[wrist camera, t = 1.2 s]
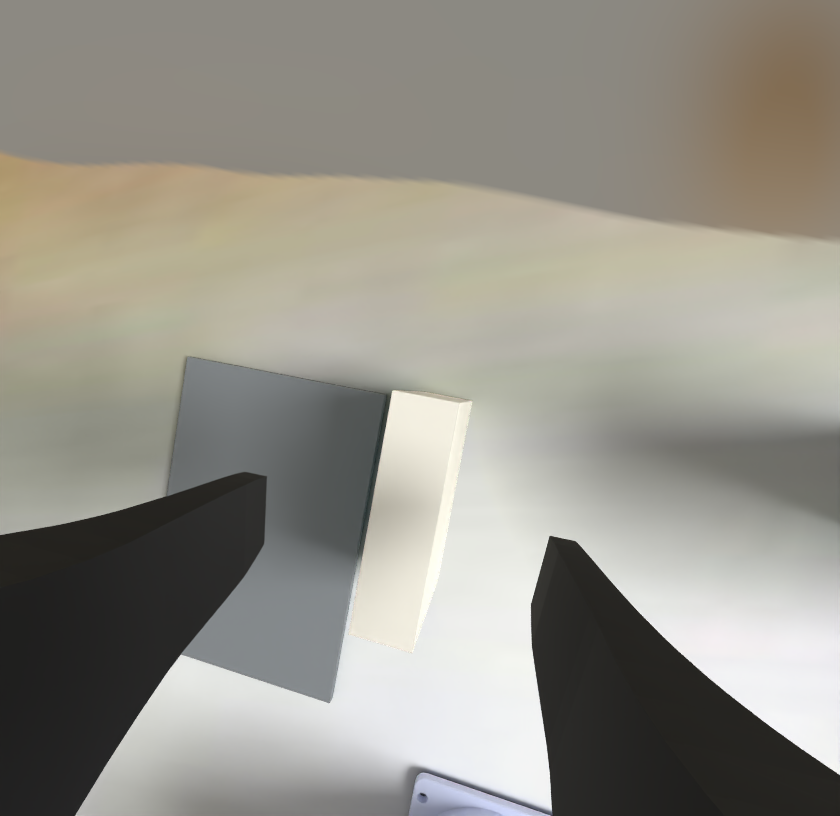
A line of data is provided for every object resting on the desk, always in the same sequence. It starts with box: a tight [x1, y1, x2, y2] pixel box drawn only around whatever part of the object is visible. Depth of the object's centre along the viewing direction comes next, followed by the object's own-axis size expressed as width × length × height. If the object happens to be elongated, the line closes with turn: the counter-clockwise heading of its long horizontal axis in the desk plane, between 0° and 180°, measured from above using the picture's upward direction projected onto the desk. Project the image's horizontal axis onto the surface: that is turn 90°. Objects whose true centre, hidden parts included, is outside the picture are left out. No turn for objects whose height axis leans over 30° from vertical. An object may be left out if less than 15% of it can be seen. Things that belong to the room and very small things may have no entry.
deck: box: [348, 390, 472, 653], centre depth 19 cm, size 9×2×6 cm, turn 170°
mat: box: [167, 357, 387, 703], centre depth 23 cm, size 16×11×1 cm
